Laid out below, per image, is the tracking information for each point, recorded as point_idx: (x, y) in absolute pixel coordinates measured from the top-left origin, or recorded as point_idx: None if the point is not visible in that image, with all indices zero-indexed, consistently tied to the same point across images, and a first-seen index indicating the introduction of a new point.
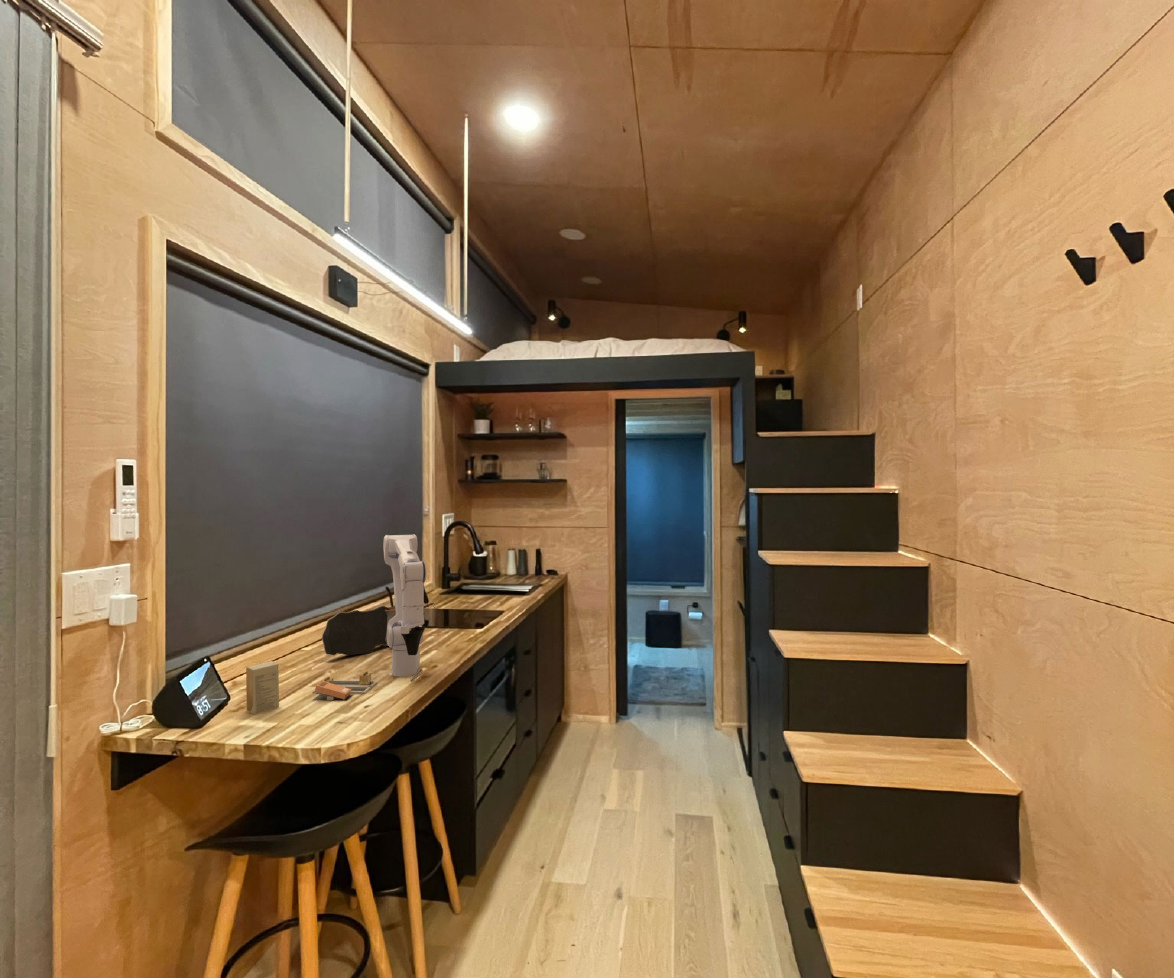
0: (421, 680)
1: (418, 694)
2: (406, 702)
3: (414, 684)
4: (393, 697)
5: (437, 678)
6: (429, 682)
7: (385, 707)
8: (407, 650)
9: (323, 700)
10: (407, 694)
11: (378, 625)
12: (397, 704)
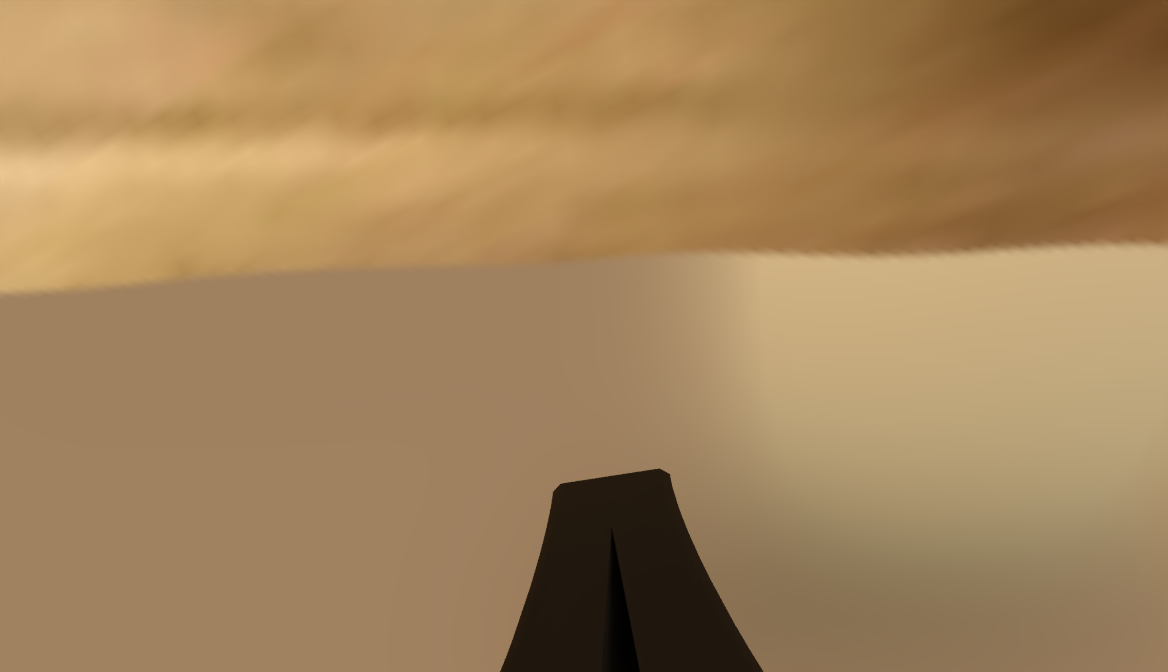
0: (1084, 50)
1: (549, 244)
2: (281, 235)
3: (908, 33)
4: (362, 5)
5: (1143, 213)
6: (986, 186)
7: (34, 87)
8: (538, 565)
9: None
10: (516, 127)
11: None
12: (184, 172)
